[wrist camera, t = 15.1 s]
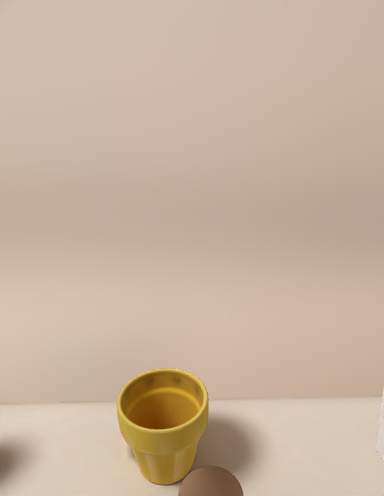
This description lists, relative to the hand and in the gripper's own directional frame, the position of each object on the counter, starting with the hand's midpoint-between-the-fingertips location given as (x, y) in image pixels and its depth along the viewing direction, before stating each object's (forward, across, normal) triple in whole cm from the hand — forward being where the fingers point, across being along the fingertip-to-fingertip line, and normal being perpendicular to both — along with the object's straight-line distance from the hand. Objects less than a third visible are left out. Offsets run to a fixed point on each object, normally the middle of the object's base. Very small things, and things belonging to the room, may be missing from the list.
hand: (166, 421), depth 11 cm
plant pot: (+27, -2, -29) cm, 39 cm away
